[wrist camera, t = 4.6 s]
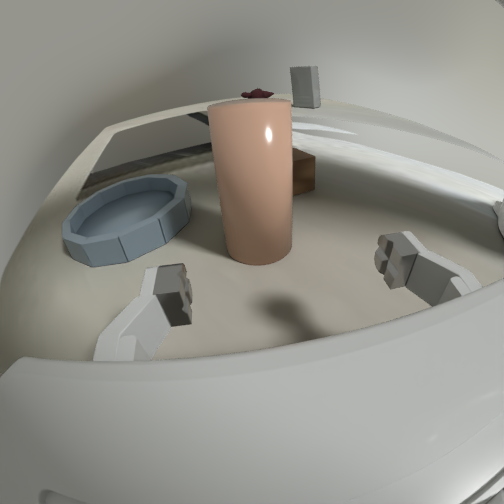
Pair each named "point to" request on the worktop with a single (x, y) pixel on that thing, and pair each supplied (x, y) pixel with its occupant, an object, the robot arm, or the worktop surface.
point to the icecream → (257, 94)
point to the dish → (127, 219)
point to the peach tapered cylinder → (254, 176)
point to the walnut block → (303, 171)
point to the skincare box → (305, 86)
